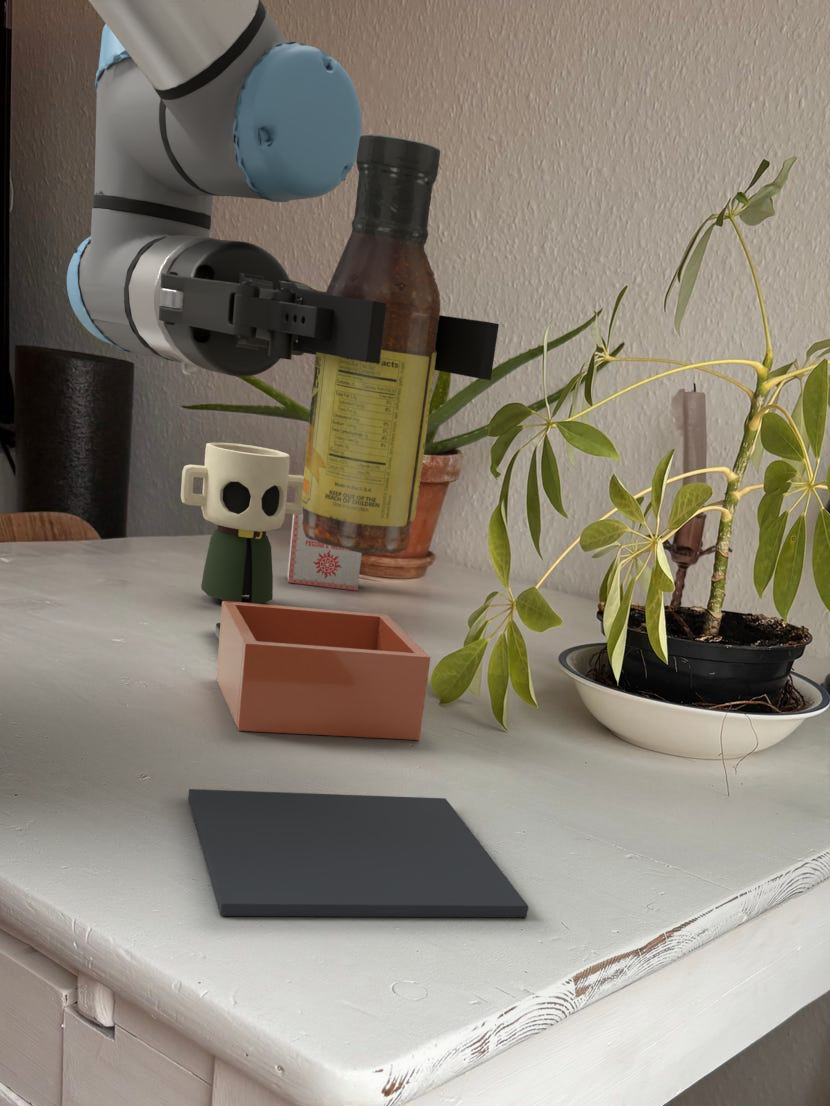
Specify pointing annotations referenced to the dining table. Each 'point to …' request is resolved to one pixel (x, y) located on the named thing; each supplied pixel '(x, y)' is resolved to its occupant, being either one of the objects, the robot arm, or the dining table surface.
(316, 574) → the white red box
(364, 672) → the holder
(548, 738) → the dining table surface
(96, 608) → the dining table surface
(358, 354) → the robot arm
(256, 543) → the character mug
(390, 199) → the sauce bottle
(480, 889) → the mat
